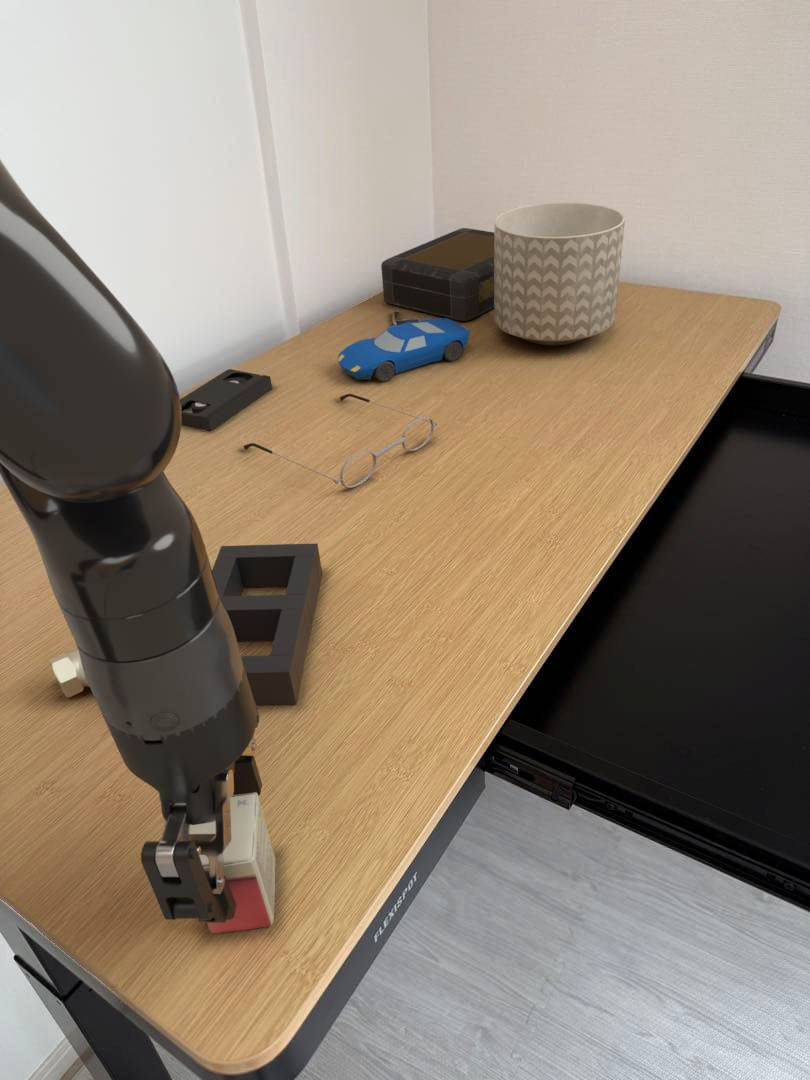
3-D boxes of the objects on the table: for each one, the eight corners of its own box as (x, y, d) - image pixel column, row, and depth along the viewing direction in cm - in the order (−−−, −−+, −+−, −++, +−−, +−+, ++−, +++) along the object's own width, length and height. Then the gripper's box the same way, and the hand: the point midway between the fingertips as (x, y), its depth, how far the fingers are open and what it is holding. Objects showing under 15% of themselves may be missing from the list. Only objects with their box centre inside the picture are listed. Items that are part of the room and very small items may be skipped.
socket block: (296, 704, 68) (289, 672, 65) (183, 706, 68) (172, 673, 66) (322, 573, 82) (317, 542, 80) (228, 576, 83) (221, 545, 80)
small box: (216, 866, 56) (191, 797, 51) (277, 858, 56) (257, 789, 51) (209, 937, 52) (181, 869, 47) (274, 928, 52) (253, 860, 47)
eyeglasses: (341, 498, 93) (336, 469, 91) (243, 453, 104) (237, 426, 102) (441, 437, 103) (439, 409, 101) (342, 403, 115) (338, 377, 112)
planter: (632, 351, 121) (645, 228, 110) (511, 366, 120) (513, 243, 109) (589, 308, 136) (598, 197, 126) (482, 321, 135) (481, 209, 124)
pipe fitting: (170, 688, 71) (143, 642, 75) (161, 659, 68) (133, 614, 72) (81, 731, 67) (58, 681, 72) (67, 702, 65) (45, 652, 69)
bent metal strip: (426, 314, 136) (407, 323, 133) (427, 322, 136) (407, 331, 134) (395, 307, 140) (375, 315, 137) (395, 314, 141) (376, 323, 138)
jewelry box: (460, 265, 160) (459, 225, 156) (546, 281, 149) (548, 239, 144) (378, 303, 145) (374, 260, 141) (466, 324, 134) (465, 279, 130)
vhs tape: (231, 380, 122) (228, 368, 121) (272, 388, 119) (270, 376, 118) (168, 421, 112) (164, 408, 111) (211, 431, 109) (208, 418, 108)
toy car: (331, 369, 123) (327, 339, 120) (442, 337, 130) (441, 307, 128) (358, 391, 116) (355, 359, 113) (474, 355, 124) (473, 324, 121)
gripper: (142, 589, 47) (203, 760, 57) (47, 793, 36) (144, 963, 46) (265, 585, 47) (306, 758, 57) (208, 791, 36) (271, 963, 45)
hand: (233, 849), depth 51 cm, fingers open, 8 cm apart
